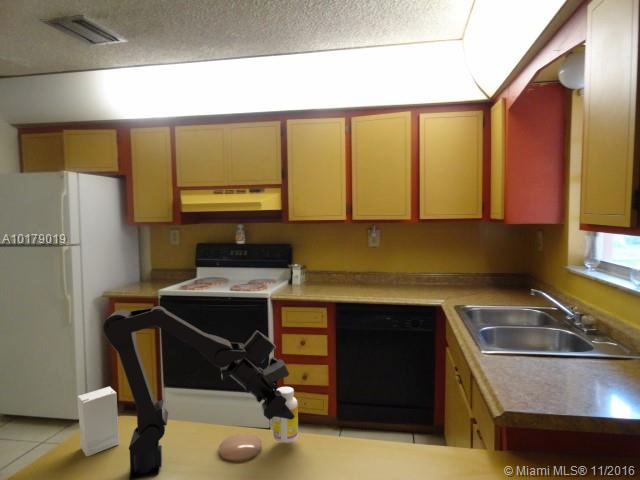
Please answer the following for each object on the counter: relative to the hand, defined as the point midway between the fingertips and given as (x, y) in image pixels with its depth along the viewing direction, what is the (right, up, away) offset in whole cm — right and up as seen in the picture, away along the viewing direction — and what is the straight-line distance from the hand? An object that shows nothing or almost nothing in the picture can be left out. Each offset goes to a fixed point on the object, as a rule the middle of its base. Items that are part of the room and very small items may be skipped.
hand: (290, 412), depth 107 cm
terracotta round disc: (-13, -9, -2) cm, 16 cm away
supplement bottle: (-1, -7, 0) cm, 7 cm away
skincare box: (-51, -9, 0) cm, 52 cm away
